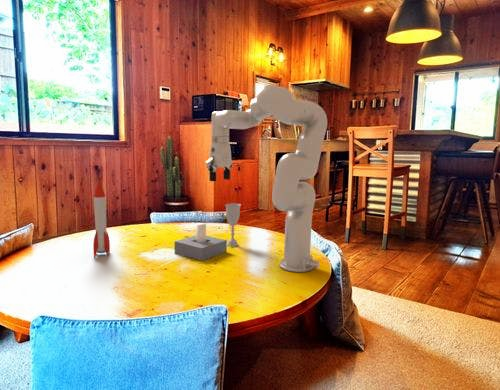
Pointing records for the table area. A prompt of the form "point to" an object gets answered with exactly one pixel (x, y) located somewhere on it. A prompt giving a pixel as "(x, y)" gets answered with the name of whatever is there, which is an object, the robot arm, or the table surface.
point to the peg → (201, 233)
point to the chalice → (232, 220)
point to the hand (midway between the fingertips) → (219, 180)
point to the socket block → (200, 247)
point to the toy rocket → (100, 222)
